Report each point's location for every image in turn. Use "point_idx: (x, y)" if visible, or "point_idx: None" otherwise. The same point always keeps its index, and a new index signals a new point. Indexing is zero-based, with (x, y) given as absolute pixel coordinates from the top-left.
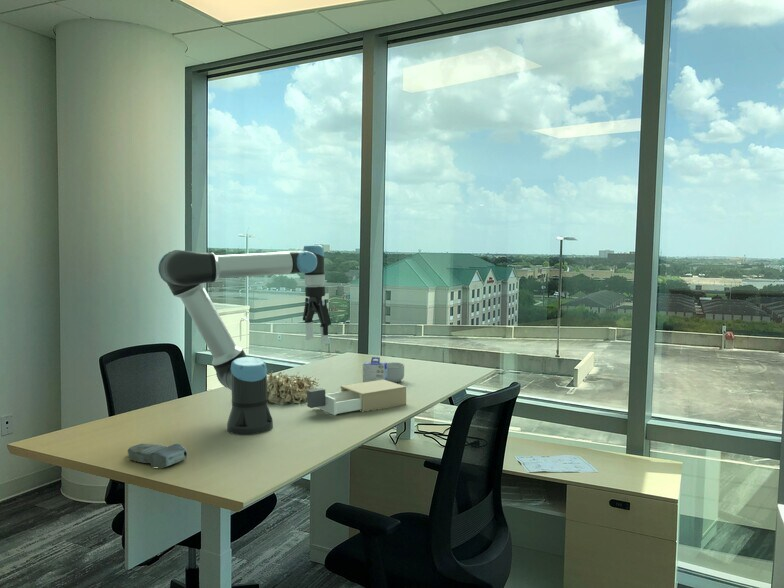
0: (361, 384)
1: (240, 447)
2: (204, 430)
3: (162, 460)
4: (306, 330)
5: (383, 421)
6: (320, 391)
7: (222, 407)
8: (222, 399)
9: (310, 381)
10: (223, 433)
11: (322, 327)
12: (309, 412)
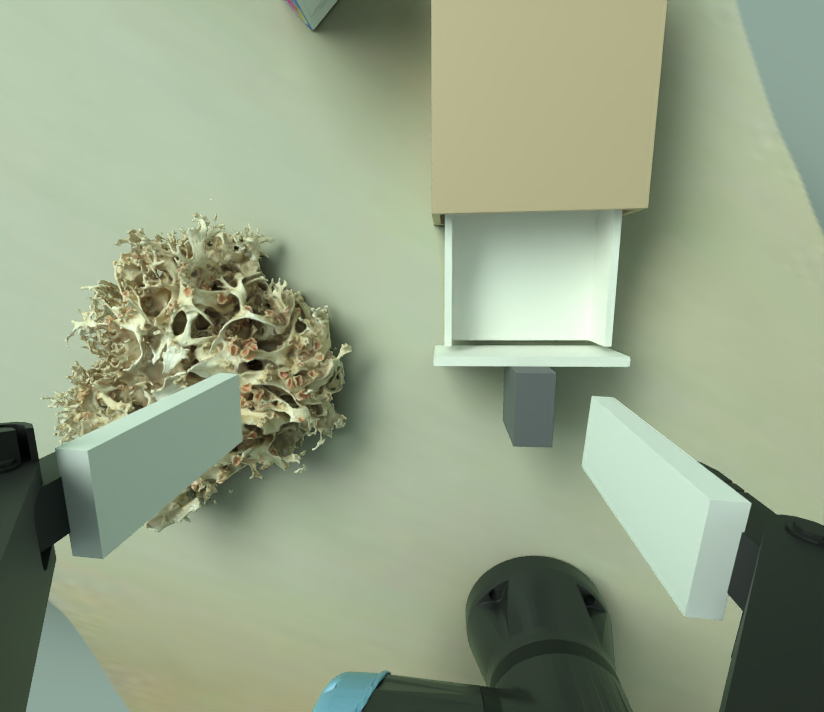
0: (466, 100)
1: (683, 699)
2: None
3: None
4: (178, 491)
5: (778, 223)
6: (552, 396)
7: (249, 584)
8: (145, 547)
9: (204, 261)
10: None
11: (716, 591)
12: (478, 391)
